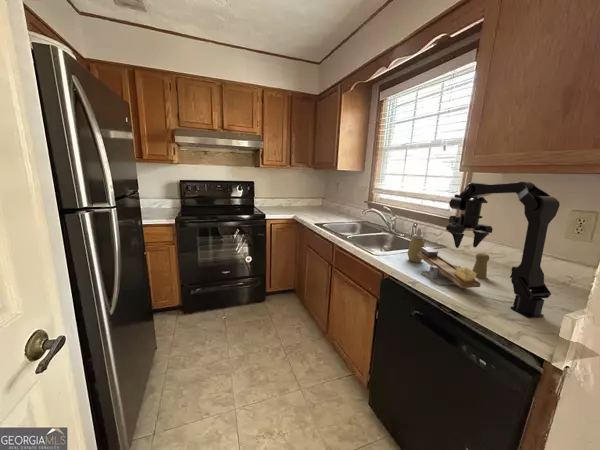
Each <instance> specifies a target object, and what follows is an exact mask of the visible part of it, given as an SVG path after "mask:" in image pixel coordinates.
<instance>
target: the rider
mask: <svg viewBox="0 0 600 450" xmlns="http://www.w3.org/2000/svg"><path fill="white" fill-rule="evenodd" d="M472 270H473V269H470V268H468V267H462V266H461V268H456V271H455V274H454V276H456V277H457V278H458V279H460V280H461V281H463V282H464V283H471V282H474V280H476V278H477V277H476V274H477V273H475V272H473V271H472Z"/></svg>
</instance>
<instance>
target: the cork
mask: <svg viewBox="0 0 600 450" xmlns="http://www.w3.org/2000/svg"><path fill="white" fill-rule="evenodd" d="M489 260H490V256H489V254H487V253H483V252H478V253H476V255H475V263H474V265H473V267H472V269H471V270H472V271H473V272H475V273H477V274H476V277H475V278H477V279H483V280H485V279H487V273H488V261H489Z"/></svg>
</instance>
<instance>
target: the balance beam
mask: <svg viewBox="0 0 600 450" xmlns="http://www.w3.org/2000/svg"><path fill="white" fill-rule="evenodd" d="M417 256H419V257H420V258H421V259H422V261H424V262H425V263H427V264H428V265H430V267H431V266H436V267H438V271H439V272H440V273H442V274H443V275H444V276H446V277H447V278H449V279H450V280H451V281H453V282H454V283H455V284H457V286H458V287H459V288H461V289H467V288H480V287H481V285H482V284H481V282H480V281H478V280H477V279H475V280H474V282H471V283H464V282H463V281H461V280H460V279H458V278H457V277H456V276H454V274H455V271H456V268H457V267H455V266H454V265H455V264H452V263H450V262H449V261H448V260H446V259H445V258H443V257H441V256H440V255H439V254H437V257H433V258H428V257H427V256H426V255H424V254H423V253H421V252H419V253H418V254H417Z"/></svg>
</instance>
